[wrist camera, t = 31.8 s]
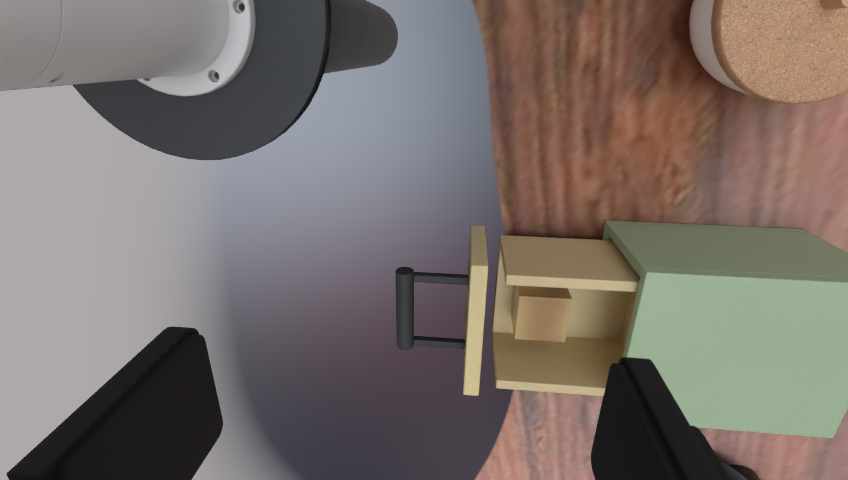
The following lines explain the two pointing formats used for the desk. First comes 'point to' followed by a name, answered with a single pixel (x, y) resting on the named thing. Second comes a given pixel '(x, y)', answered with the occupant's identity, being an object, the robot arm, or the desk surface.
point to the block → (540, 313)
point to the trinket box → (774, 47)
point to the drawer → (513, 358)
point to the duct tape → (739, 472)
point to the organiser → (741, 323)
